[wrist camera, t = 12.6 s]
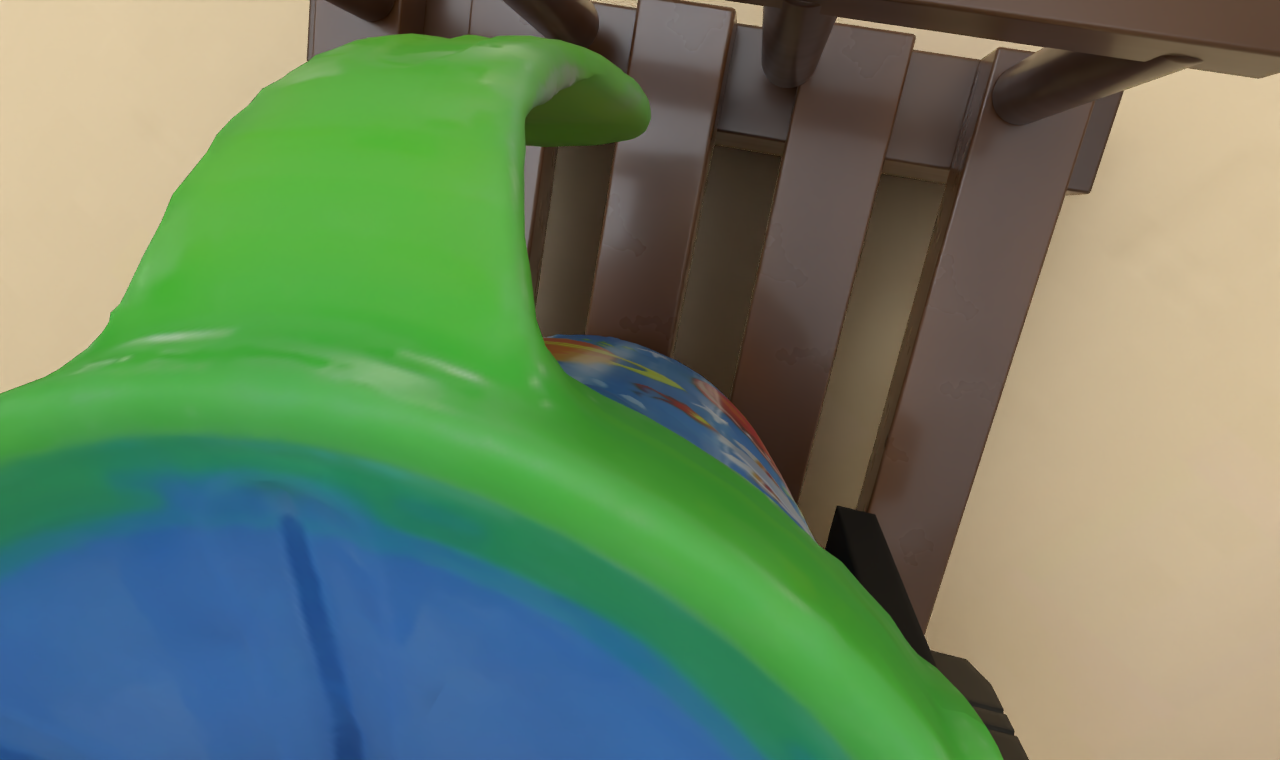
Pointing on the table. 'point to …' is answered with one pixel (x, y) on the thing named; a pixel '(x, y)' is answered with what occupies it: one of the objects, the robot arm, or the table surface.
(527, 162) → the dish rack
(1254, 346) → the table surface
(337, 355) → the snack cup
